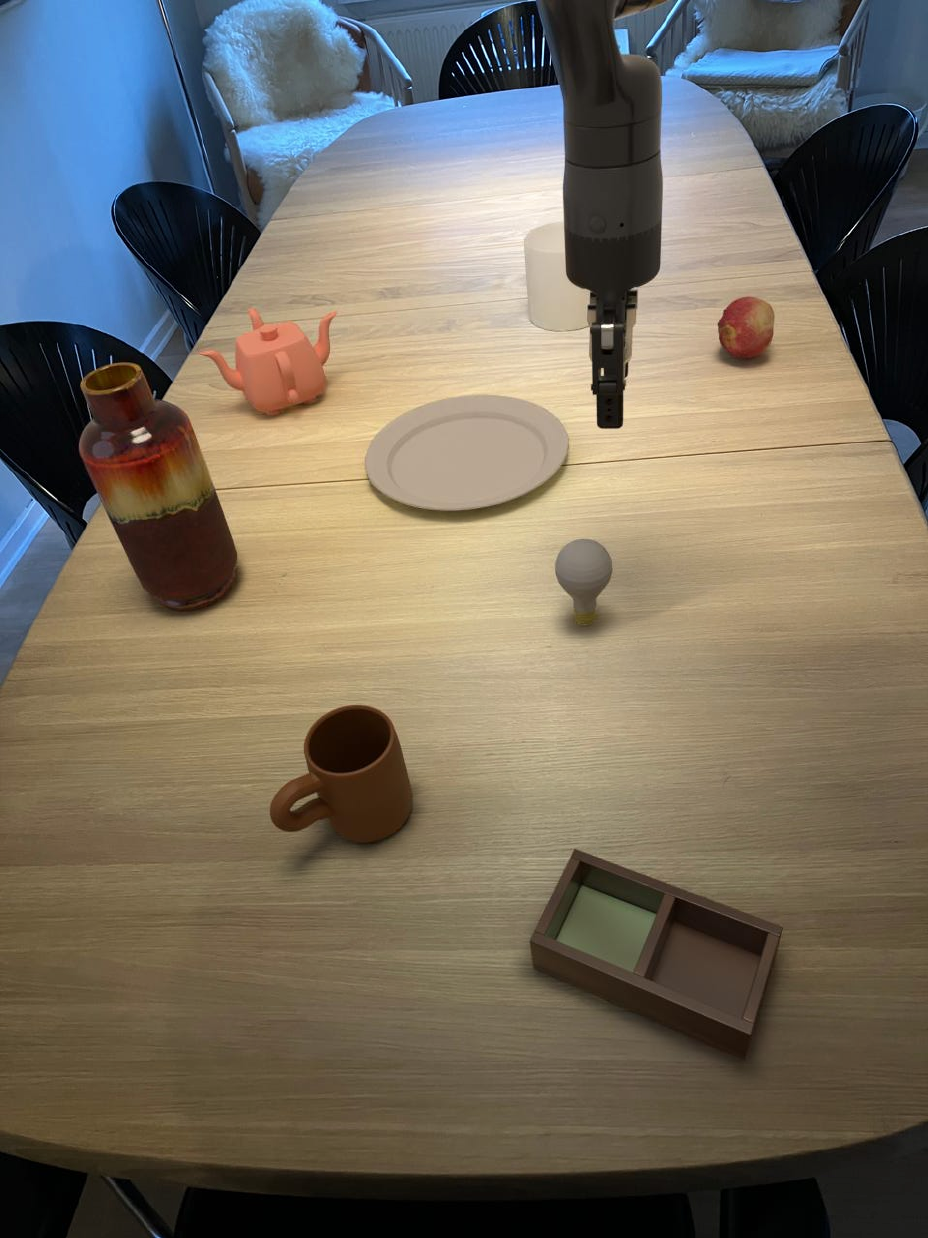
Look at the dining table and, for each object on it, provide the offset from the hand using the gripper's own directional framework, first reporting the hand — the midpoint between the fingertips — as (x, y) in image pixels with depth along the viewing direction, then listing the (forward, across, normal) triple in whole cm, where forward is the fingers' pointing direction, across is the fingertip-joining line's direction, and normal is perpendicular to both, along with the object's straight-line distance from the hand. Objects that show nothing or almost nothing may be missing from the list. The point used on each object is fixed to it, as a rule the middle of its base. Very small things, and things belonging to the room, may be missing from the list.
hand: (613, 400), depth 82 cm
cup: (+22, +62, +11) cm, 67 cm away
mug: (+22, -32, +20) cm, 44 cm away
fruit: (+22, +48, -15) cm, 55 cm away
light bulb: (+22, -6, +2) cm, 23 cm away
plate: (+22, +22, +20) cm, 37 cm away
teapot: (+22, +39, +50) cm, 67 cm away
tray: (+22, -41, -5) cm, 47 cm away
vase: (+22, -3, +46) cm, 51 cm away
